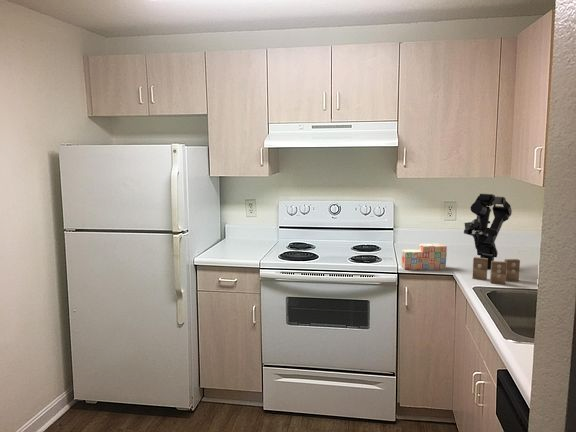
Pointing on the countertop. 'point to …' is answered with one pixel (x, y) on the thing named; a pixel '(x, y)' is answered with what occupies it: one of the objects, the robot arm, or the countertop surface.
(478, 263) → the wooden block
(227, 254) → the countertop surface
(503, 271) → the light brown wooden block
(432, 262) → the stack of blocks
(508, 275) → the tile two
